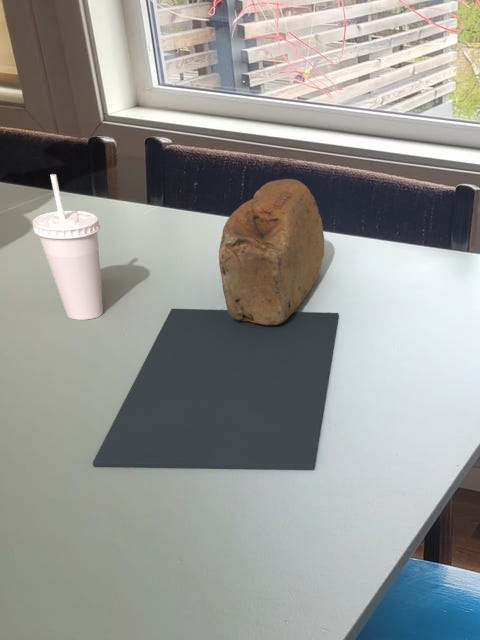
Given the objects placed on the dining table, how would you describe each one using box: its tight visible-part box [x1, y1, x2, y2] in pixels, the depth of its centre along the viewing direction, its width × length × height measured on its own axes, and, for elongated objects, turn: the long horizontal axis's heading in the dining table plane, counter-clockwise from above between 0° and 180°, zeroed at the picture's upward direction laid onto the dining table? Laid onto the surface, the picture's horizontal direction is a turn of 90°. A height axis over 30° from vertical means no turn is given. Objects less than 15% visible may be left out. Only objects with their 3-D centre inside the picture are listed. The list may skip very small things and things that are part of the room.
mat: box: [92, 308, 340, 471], centre depth 95 cm, size 18×34×1 cm, turn 3°
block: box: [218, 178, 325, 325], centre depth 109 cm, size 11×8×20 cm
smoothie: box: [32, 173, 104, 321], centre depth 102 cm, size 6×6×14 cm
